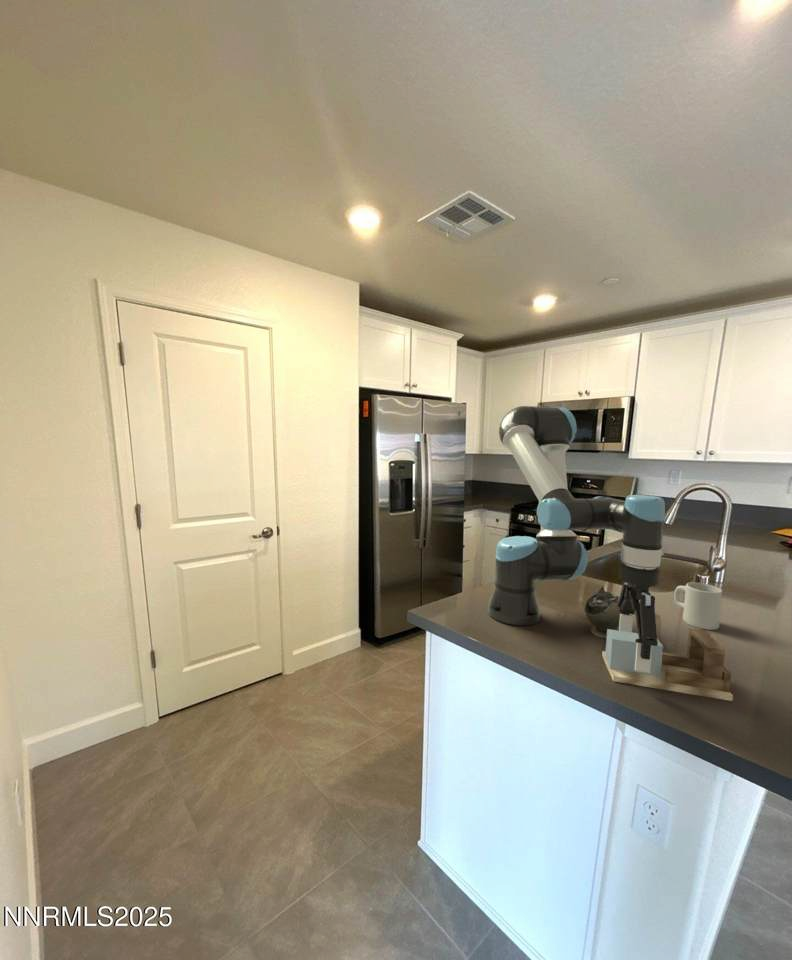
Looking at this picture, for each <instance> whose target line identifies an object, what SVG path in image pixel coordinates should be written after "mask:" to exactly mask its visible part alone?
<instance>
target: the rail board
mask: <svg viewBox="0 0 792 960" xmlns="http://www.w3.org/2000/svg"><path fill="white" fill-rule="evenodd" d="M686 648H687V649H686V654H679V653H672V652H664V651H663V653H662V665H661V676H654V675H648V674H642V673H636V672H629V671H623V670H617V669H611V668H610V667H609V665H608V662H607V660H606V658H605V653H606V650H602V654H601V656H602V659H603V661H604V663H605V666H606V668H607V670H608V672H609V674H610V678H611V679H612V681H613V682H614V683H623V684H628V685H634V686H640V687H647V688H653V689H658V690H663V691H670V692H676V693H682V694H688V695H694V696H700V697H704V698H706V697H707V698H712V699H719V700H724V701H730V702H733V700H734V695H733V694H732V693H731V692H730V688H731V681H732V680H731V679H732V673H731V672H730V671H729V669H727V668H726V667H725V666H724V664H725V656H726V655H725V654H726V653H725V652H726V650H725V648H724V647H723V646H722V645H721V644H719V643H718V642H717V641H716V640H715V639H714V638H713V637H712V636H711V635H710V634H709V633H708V632H707V631H706V629H700V628H691V627H690V628H688V638H687V647H686Z"/></svg>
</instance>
